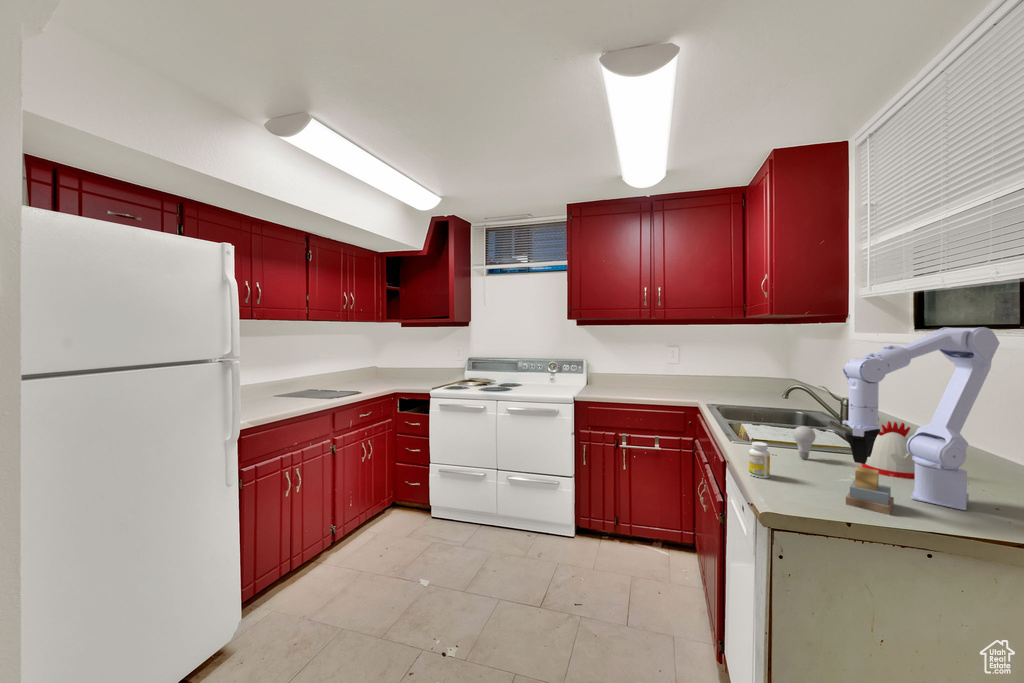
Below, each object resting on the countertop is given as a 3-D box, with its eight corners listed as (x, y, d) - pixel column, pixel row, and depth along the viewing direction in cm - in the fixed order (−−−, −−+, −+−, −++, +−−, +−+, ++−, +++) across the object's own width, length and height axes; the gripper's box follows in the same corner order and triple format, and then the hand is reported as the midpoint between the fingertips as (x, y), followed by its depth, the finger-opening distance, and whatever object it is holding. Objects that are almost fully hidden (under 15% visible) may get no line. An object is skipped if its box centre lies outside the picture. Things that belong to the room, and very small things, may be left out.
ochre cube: (878, 486, 103) (878, 470, 103) (876, 491, 100) (876, 474, 100) (857, 482, 106) (857, 466, 106) (855, 486, 103) (855, 470, 103)
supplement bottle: (756, 479, 121) (757, 446, 120) (744, 472, 126) (744, 441, 126) (774, 478, 121) (774, 445, 121) (761, 471, 127) (761, 440, 126)
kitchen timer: (935, 481, 118) (936, 428, 117) (875, 476, 122) (876, 425, 122) (906, 465, 131) (907, 418, 130) (853, 461, 135) (854, 415, 135)
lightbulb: (819, 461, 135) (820, 428, 135) (800, 462, 135) (801, 428, 135) (806, 456, 141) (807, 423, 141) (788, 456, 141) (788, 424, 141)
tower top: (890, 496, 103) (890, 486, 103) (887, 505, 98) (887, 494, 98) (854, 489, 108) (854, 479, 108) (849, 497, 103) (849, 487, 103)
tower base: (893, 507, 102) (893, 497, 102) (889, 517, 97) (889, 507, 97) (852, 497, 108) (852, 488, 108) (845, 507, 103) (845, 497, 103)
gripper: (848, 400, 113) (847, 450, 113) (837, 407, 103) (836, 462, 103) (883, 403, 107) (882, 455, 108) (875, 411, 98) (874, 469, 98)
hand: (862, 459), depth 105 cm, fingers open, 7 cm apart
